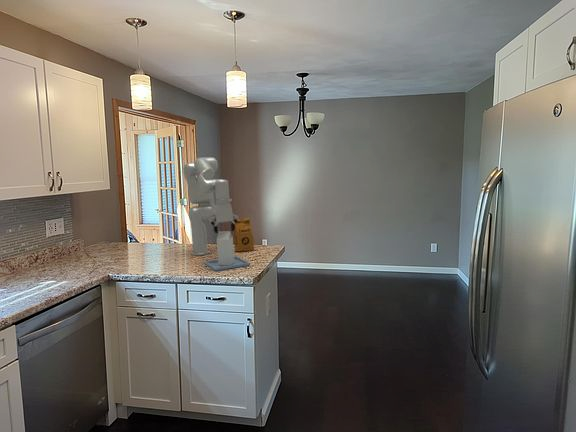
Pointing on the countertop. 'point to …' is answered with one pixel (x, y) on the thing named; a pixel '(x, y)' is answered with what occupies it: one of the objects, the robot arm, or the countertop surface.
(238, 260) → the tray
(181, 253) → the countertop surface
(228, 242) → the milk carton
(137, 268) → the countertop surface
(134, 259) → the countertop surface
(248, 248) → the coffee package
